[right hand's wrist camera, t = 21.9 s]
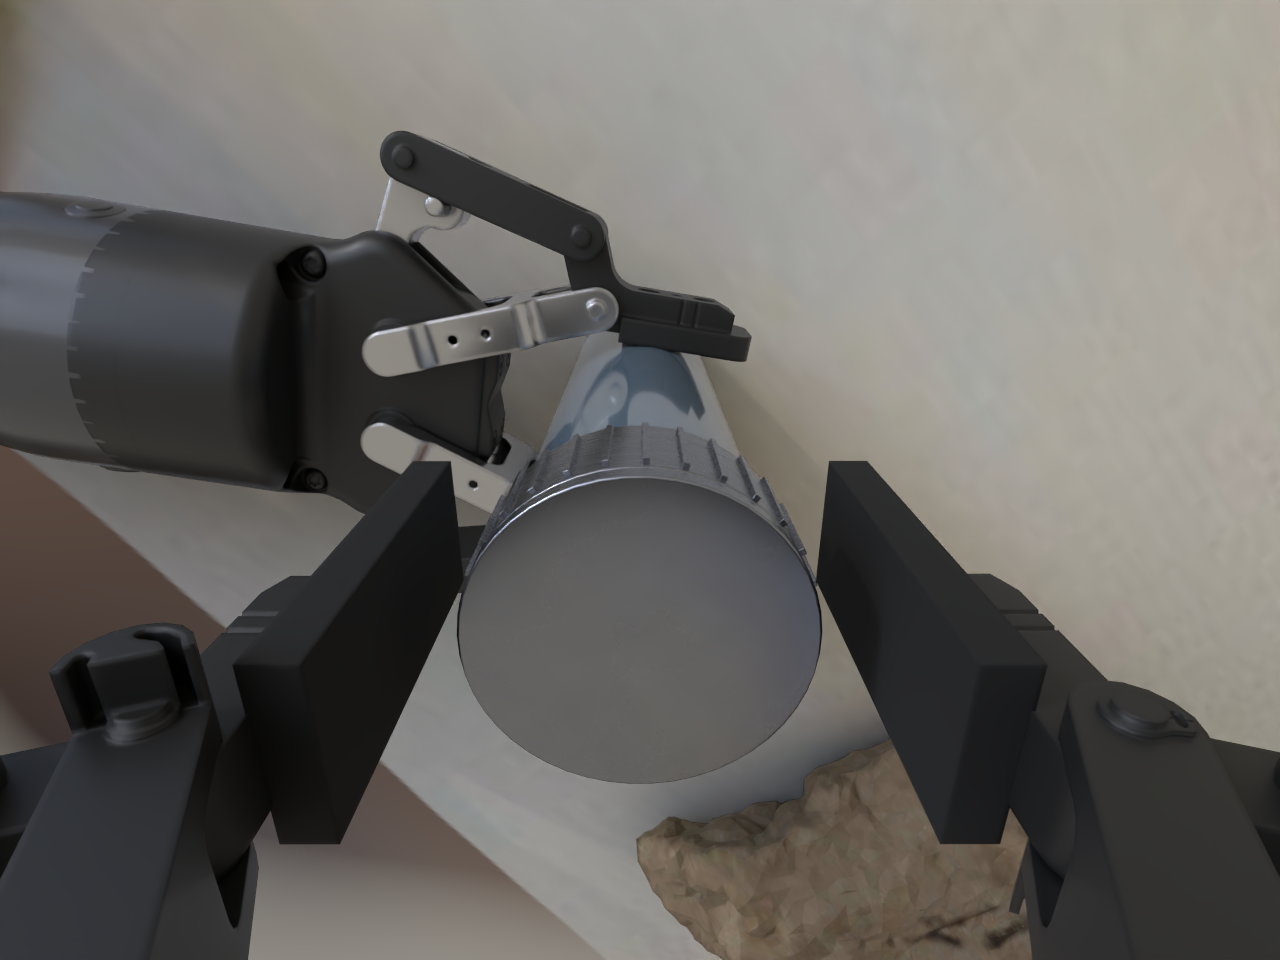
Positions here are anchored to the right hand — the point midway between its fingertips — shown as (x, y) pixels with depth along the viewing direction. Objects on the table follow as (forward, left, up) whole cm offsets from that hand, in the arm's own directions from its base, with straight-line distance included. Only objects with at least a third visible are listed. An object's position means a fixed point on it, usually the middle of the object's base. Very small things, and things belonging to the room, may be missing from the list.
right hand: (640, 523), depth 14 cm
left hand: (-2, -2, -7) cm, 8 cm away
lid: (0, 0, +4) cm, 4 cm away
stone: (-26, +1, -14) cm, 30 cm away
